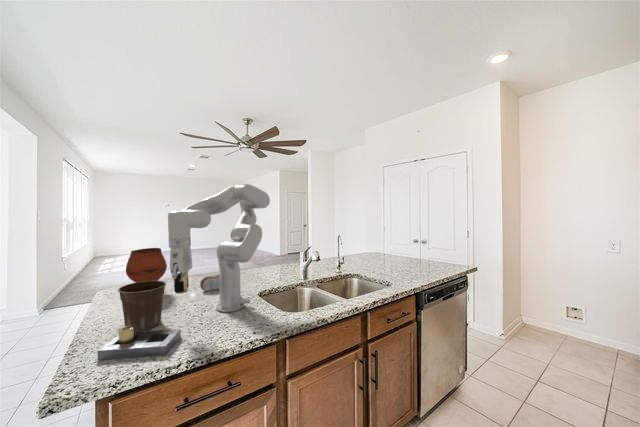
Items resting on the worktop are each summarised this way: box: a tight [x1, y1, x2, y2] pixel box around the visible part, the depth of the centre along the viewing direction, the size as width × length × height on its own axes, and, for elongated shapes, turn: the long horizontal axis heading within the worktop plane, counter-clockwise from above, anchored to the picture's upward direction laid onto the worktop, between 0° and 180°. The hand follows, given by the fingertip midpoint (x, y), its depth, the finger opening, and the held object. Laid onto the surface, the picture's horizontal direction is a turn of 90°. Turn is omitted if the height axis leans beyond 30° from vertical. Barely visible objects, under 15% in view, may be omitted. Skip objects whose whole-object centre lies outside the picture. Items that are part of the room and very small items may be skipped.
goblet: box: [125, 247, 168, 283], centre depth 147 cm, size 19×19×25 cm
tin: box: [199, 274, 220, 292], centre depth 154 cm, size 15×3×8 cm, turn 130°
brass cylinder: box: [175, 273, 189, 295], centre depth 103 cm, size 4×4×7 cm
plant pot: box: [117, 280, 167, 332], centre depth 107 cm, size 16×16×16 cm
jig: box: [97, 325, 182, 361], centre depth 90 cm, size 20×12×7 cm, turn 97°
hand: (181, 289), depth 103 cm, fingers closed on brass cylinder, 4 cm apart
